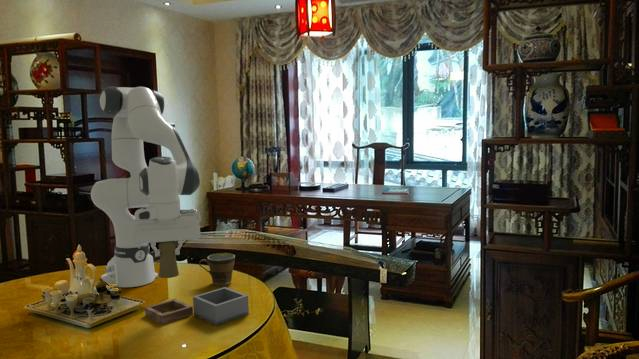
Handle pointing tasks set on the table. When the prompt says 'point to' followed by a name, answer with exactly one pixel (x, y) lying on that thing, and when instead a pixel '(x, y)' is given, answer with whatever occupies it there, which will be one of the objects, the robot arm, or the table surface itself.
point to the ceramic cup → (220, 268)
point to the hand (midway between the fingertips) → (167, 255)
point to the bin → (220, 305)
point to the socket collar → (181, 312)
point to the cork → (168, 260)
